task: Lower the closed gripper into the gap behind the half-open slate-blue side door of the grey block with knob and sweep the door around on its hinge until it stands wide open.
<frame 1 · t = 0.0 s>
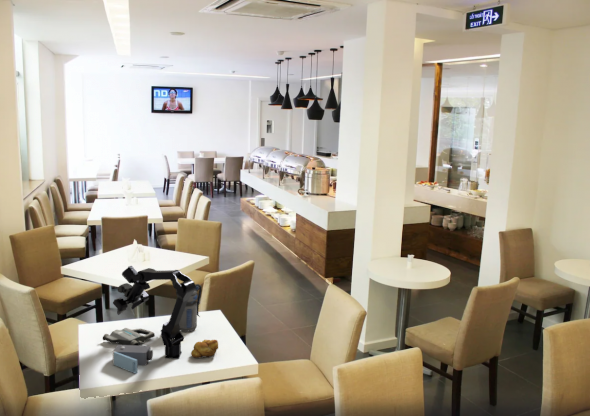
hand: (125, 311, 249), 15 cm above the table, tool tilted 35°, fingers open, 9 cm apart
camcorder: (131, 342, 250), on the table
beverage bottle: (188, 329, 268), on the table
grey block with knob: (131, 360, 230), on the table
side door: (124, 362, 222), point 3 cm above the table, hinge at 30.0°
bread roll: (203, 355, 239), on the table
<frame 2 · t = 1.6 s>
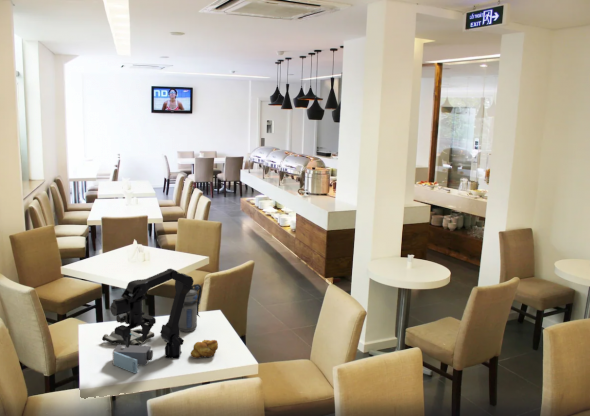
hand: (135, 343, 221), 12 cm above the table, tool pointing down, fingers open, 9 cm apart
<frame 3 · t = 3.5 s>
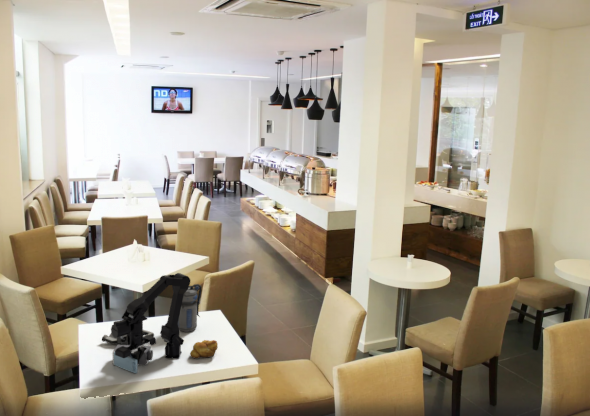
hand: (136, 364, 222), 3 cm above the table, tool pointing down, fingers closed
side door: (124, 362, 222), point 3 cm above the table, hinge at 30.0°, touching gripper
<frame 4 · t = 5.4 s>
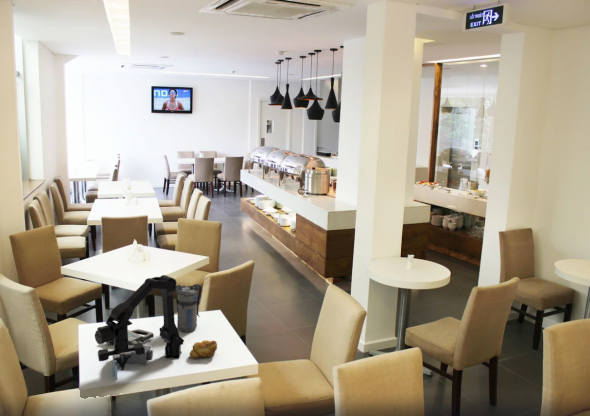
hand: (122, 370, 216), 3 cm above the table, tool pointing down, fingers closed
side door: (114, 364, 219), point 3 cm above the table, hinge at 68.1°, touching gripper
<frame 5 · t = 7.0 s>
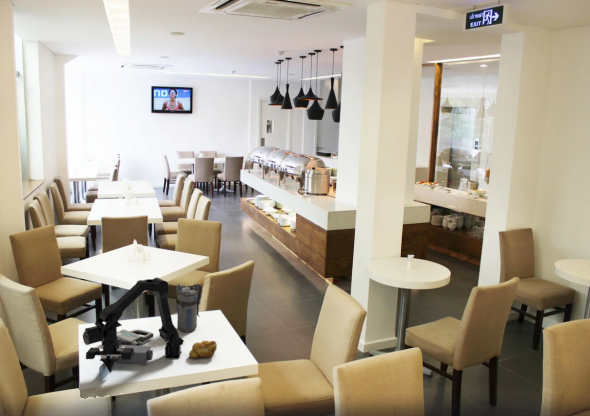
hand: (110, 371, 214), 3 cm above the table, tool pointing down, fingers closed
side door: (107, 365, 218), point 3 cm above the table, hinge at 92.7°, touching gripper
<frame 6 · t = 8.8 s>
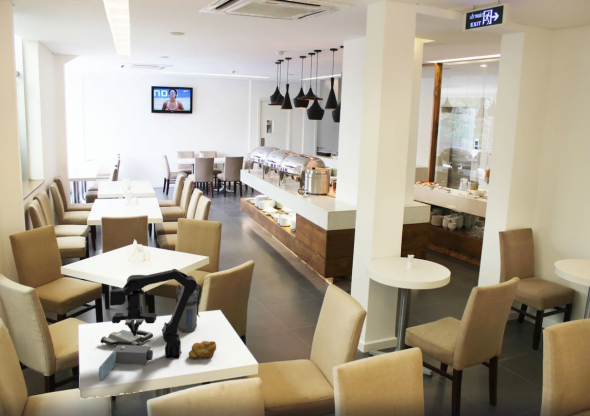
hand: (134, 335, 229), 12 cm above the table, tool pointing down, fingers closed
side door: (107, 365, 218), point 3 cm above the table, hinge at 92.9°
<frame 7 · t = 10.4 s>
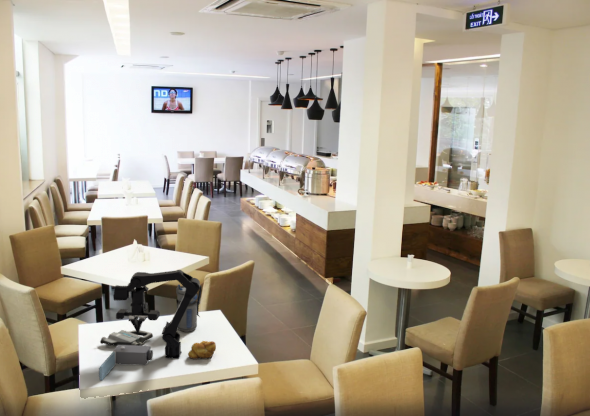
hand: (138, 332, 233), 12 cm above the table, tool pointing down, fingers closed
at the end: side door at +93° (first picture: +30°); camcorder moved 2.3 cm from its start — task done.
